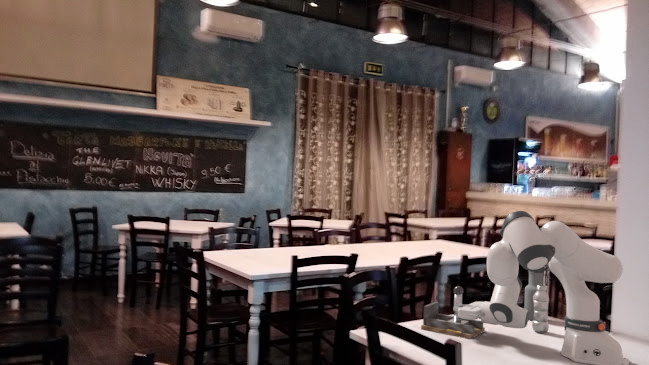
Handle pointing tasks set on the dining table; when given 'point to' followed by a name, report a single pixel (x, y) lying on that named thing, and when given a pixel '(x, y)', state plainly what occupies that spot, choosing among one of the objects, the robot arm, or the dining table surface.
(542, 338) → the dining table surface
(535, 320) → the plastic bottle
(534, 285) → the water bottle
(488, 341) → the dining table surface
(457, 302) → the press sled
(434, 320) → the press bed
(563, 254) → the robot arm
